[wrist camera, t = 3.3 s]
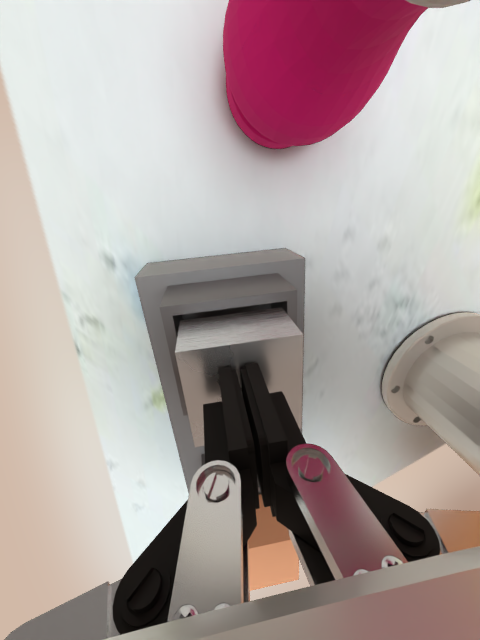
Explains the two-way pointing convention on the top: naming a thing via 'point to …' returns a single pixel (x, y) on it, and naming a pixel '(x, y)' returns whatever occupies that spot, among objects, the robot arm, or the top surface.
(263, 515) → the terracotta button
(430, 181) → the top surface
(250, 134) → the pepper mill
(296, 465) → the robot arm
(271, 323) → the grey button
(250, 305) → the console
